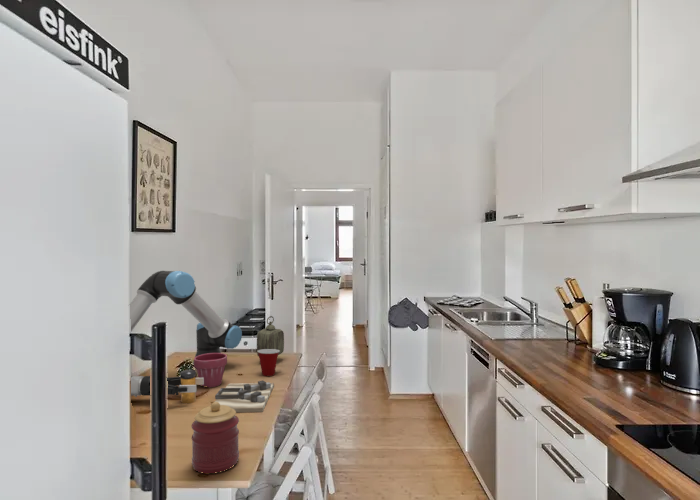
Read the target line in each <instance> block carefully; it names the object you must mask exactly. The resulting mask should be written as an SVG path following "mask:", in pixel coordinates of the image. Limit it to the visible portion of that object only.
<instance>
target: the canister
mask: <svg viewBox="0 0 700 500" xmlns="http://www.w3.org/2000/svg"><path fill="white" fill-rule="evenodd" d="M236 414H237V413H236V411H235V410H234V409H232V408H230V407H229V406H226V405H220V404H219V402H215V401H213V402H212V403H211V405H209V406H206V407H204V408H202V409H201V410H200V411H198V412H197V413H196V414H195V415H194V419H195V420H193V422H192V423H191V429H192V431H193V434H192V435H191V441H192V443H191V445H192V448H191V449H192V450H191V452H192V454H191V455H192V457H191V465H192V468H194V469H195V470H196V471H198V472H203V473H215V472H220V471H224V470H226V469H229V468H230V467H232V466H233V465H235V464H236V463H237V464H238V462H239V458H240V450H239V434H240V430H239V428H238V424H239V422H240V419H239V417H238V416H237V415H236ZM237 461H238V462H237ZM237 464H236V465H237ZM236 465H235V466H236ZM194 469H193V470H194ZM195 470H194V471H195ZM229 470H230V469H229ZM196 471H195V472H196ZM198 472H197V473H198ZM224 472H225V471H224Z"/></svg>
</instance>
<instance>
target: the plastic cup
mask: <svg viewBox="0 0 700 500" xmlns="http://www.w3.org/2000/svg"><path fill="white" fill-rule="evenodd" d="M257 352H258V354H259V357H258V358H259V364H260V369H261V374H262V376H263V377H272V376H274V375H275V373H276V367H277V363H278V357H279V355H278V354H279V352H280V351H279V350H276V349H262V350H258V351H257V350H256V353H257Z"/></svg>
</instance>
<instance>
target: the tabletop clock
mask: <svg viewBox="0 0 700 500" xmlns="http://www.w3.org/2000/svg"><path fill="white" fill-rule="evenodd" d="M271 318H272V321H269V322H268V320H269V319H271ZM274 319H275V318H274V316H272V315H270V316H268V317H267V319H266V323H267V325H266V326H265V328H263V329H261V330H259V331H258V332H257V335H256V354H257V357H258V358H259V354H258V352H257V351H258V350H262V349H276V350H279V351H280V352H279V354H278V356H279V355H281V354H283V353H284V350H285V333H284V331H283V330H282V329H281V328H276V327H275V325H273V323H274V322H275V320H274Z"/></svg>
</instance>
